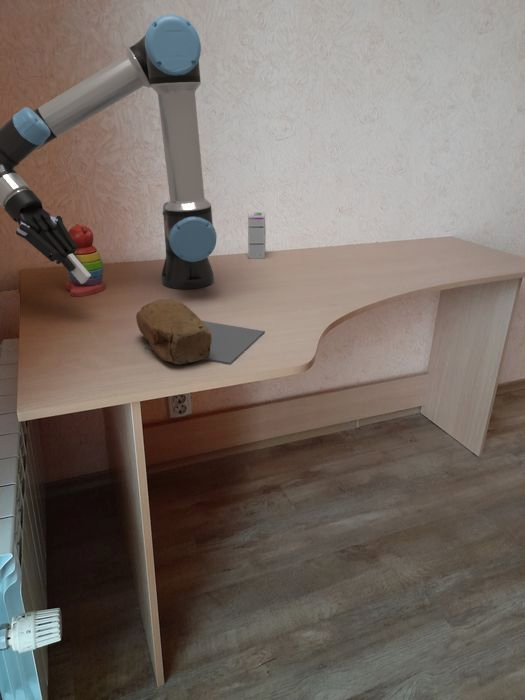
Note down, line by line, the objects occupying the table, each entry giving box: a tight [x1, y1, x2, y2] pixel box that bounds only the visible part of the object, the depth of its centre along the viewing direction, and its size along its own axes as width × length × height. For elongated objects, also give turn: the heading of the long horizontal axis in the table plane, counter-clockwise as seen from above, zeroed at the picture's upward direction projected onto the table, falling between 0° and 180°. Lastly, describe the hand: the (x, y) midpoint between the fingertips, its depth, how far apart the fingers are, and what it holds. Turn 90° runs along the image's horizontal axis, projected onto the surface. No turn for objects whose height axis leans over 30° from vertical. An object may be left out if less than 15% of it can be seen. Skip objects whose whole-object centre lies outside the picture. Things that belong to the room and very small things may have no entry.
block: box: [135, 298, 212, 365], centre depth 110 cm, size 11×8×20 cm
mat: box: [144, 320, 266, 365], centre depth 116 cm, size 18×20×1 cm
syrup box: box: [247, 212, 266, 260], centre depth 180 cm, size 6×6×14 cm
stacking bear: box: [64, 223, 105, 297], centre depth 144 cm, size 11×10×18 cm
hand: (86, 279), depth 122 cm, fingers closed
